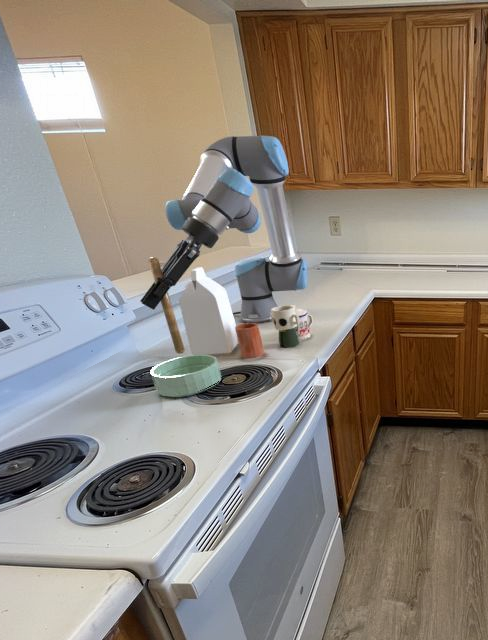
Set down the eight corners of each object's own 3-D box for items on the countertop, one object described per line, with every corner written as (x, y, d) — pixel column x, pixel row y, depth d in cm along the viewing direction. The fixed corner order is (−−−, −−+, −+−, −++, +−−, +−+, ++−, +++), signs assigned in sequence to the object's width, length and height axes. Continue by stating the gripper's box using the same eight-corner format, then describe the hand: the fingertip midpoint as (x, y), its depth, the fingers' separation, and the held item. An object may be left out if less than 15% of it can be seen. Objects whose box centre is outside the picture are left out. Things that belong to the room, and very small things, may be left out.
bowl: (149, 388, 110) (141, 367, 107) (208, 370, 120) (202, 350, 118) (170, 405, 100) (162, 382, 98) (232, 383, 111) (227, 363, 108)
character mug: (269, 348, 135) (261, 309, 130) (283, 341, 141) (276, 304, 136) (296, 352, 131) (289, 312, 126) (310, 344, 137) (303, 306, 132)
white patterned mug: (295, 344, 139) (289, 310, 134) (278, 339, 143) (271, 306, 139) (322, 334, 148) (318, 301, 143) (305, 330, 152) (300, 299, 148)
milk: (231, 354, 131) (210, 271, 121) (192, 357, 130) (168, 273, 119) (241, 342, 142) (223, 264, 131) (205, 345, 140) (184, 266, 130)
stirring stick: (175, 353, 106) (146, 257, 97) (183, 351, 108) (155, 256, 98) (178, 355, 105) (149, 257, 95) (186, 353, 106) (158, 256, 97)
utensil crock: (238, 357, 129) (231, 326, 124) (258, 351, 133) (251, 321, 129) (248, 362, 125) (241, 330, 121) (268, 356, 129) (261, 325, 125)
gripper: (227, 238, 99) (168, 320, 96) (212, 235, 109) (158, 308, 107) (197, 215, 94) (133, 301, 91) (184, 214, 104) (126, 291, 102)
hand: (147, 305), depth 99 cm, fingers closed on stirring stick, 2 cm apart
